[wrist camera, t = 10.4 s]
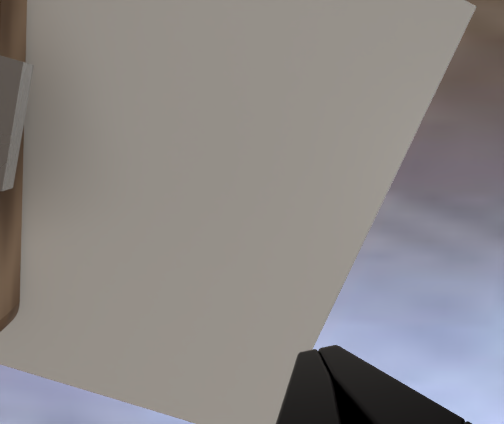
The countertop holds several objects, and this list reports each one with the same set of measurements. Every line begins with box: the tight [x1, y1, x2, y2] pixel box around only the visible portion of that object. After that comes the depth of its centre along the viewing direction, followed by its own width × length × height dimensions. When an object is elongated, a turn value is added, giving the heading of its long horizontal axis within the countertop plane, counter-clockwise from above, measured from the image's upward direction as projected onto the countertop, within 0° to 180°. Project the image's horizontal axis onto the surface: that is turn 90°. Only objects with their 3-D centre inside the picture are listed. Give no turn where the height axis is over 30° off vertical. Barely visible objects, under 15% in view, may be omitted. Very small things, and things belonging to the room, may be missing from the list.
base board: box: [0, 0, 476, 424], centre depth 18 cm, size 23×25×1 cm
